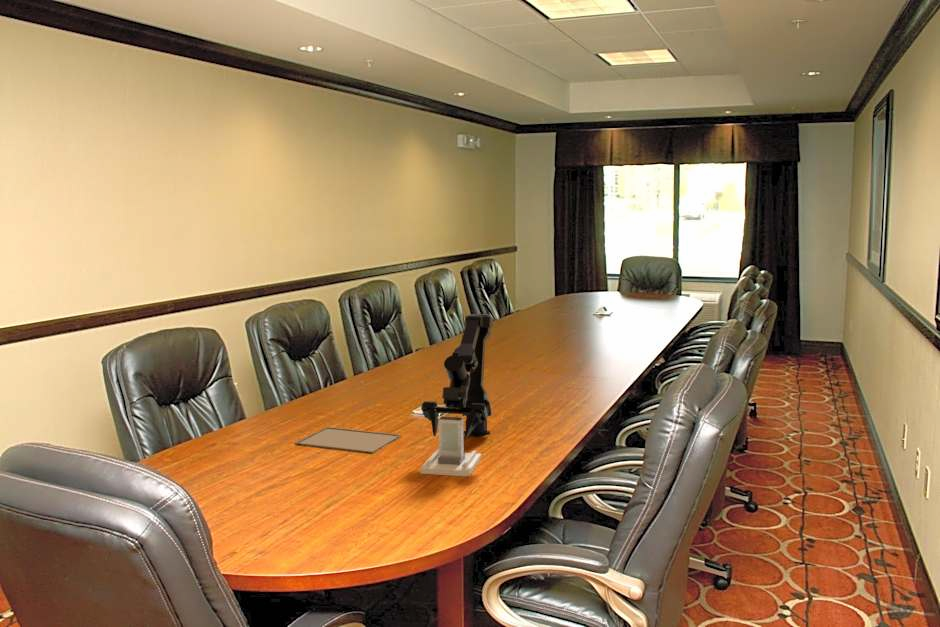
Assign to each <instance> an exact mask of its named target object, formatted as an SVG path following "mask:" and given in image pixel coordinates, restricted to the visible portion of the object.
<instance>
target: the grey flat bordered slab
mask: <svg viewBox="0 0 940 627" xmlns="http://www.w3.org/2000/svg"><path fill="white" fill-rule="evenodd" d="M400 436H402V434H398V433H396V434H395V433H387V432H377V431H368V430H359V429H349V428H341V427H332V426H331V427H330V426H326V427H325V428H321V429H320V430H318V431H316V432H314V433H312V434H310V435H308V436H306V437H304V438H301V439H300V440H297V441H296V442H294V445H295V444H301V445H300V446H302V445H308V446H307V447H311V446H316V447H315V448H320V447H325V448H324V449H328V448H332V449H331V450H337V449H342V450H341V451H345V450H352V451H351V452H354V451H361V452H360V453H362V452H368V453H367V454H371V453H374V452H375V453H377V452H378V451H377V450H379V449H380V450H382V449H383V448H382V447H384V446H385V445H387V444H389V443H390V444H392V443H393V442H392V441H394V440H395V441H397V440H398V439H400V438H401V437H400ZM399 437H400V438H399ZM402 437H403V436H402ZM397 438H398V439H397ZM396 439H397V440H396ZM395 441H394V442H395ZM391 442H392V443H391ZM390 444H389V445H390ZM387 446H388V445H387ZM385 447H386V446H385ZM385 447H384V448H385ZM381 448H382V449H381ZM380 450H379V451H380ZM376 451H377V452H376ZM375 453H374V454H375Z"/></svg>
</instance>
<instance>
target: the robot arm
mask: <svg viewBox="0 0 940 627" xmlns="http://www.w3.org/2000/svg"><path fill="white" fill-rule="evenodd" d="M493 327H494V318H493V317H491V315H490V314H489V313H471V314H469V315H468V314H467V315H466V316H465V315H464V330H463V333H462V337H461V341H460V344H459V345H458V347H456V348H455V349H454V350H453V352H452V355H449V356H447V357H446V359H445V360H444V362H443V365H444V369H445V373H446V374H447V377H448V379H449V380H450V381H449V385H448V386H447V387H445V386H444V387H443V388H442V396H441V399H443V404H444V406H442V405H441V406H440V405H438V403H437V401H435V400H434V401H433V400H432V401H431V400H425V401H423V402H422V403H421V408H420V409H421V412H422V414H423V417H424V418H426V419H428V421H430V422H431V429H432V430H431V431H432V434H433V437H436V436H437V434H438V433H437V432H438V428H439V421H438V419H439V418H438V417H439V415H440V414H453V415H462V417H464V416H465V417H466V418H465V419H466V420H465V430H463V434H464V439H467V438H468V437H469V436H472V437H480V436H484V435H488V434H491V430H488V418H489V417H491V416H492V407H491V402H490V400H489V398H488V393H487V391H486V389H485V387H484V370H485V356H486V341H487V340H488V338H489V337H490V336H491V333H492V329H493Z"/></svg>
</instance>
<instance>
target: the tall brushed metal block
mask: <svg viewBox="0 0 940 627" xmlns="http://www.w3.org/2000/svg"><path fill="white" fill-rule="evenodd" d="M463 431H464V417H455V416H440V417H439V418H438V449H439V458H438V464H454V465H460V464H461V463H462V462H463V460H464V459H465V453H466V452H465V450H464V448H465V447H464V433H463Z"/></svg>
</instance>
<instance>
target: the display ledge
mask: <svg viewBox="0 0 940 627" xmlns="http://www.w3.org/2000/svg"><path fill="white" fill-rule="evenodd" d="M464 453H465V459H464V460H463V462H462V463H461V464H460V465H454V464H438V458H439V448H437V450H435V451H434V452H433V453H432V454H431V456H429V457H428V459H427V460H426V461H425V462H424V464H423V465H422V466H420V468H419V469H420V470H419V471H420V473H419V474H423V475H435V476H436V475H438V476H439V475H440V476H453V477H454V476H456V477H467V476H469V477H470V476H471V475H470V474H473V472H474V470H475V469H476V467H477V466H478V464H479V463H480V462H481V460H482V453H477V450H475V449H474V450H472V451H471V452H464ZM476 465H477V466H476ZM474 468H475V469H474ZM472 471H473V472H472Z"/></svg>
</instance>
